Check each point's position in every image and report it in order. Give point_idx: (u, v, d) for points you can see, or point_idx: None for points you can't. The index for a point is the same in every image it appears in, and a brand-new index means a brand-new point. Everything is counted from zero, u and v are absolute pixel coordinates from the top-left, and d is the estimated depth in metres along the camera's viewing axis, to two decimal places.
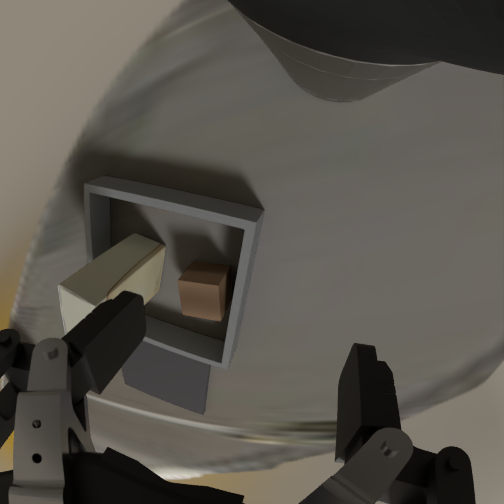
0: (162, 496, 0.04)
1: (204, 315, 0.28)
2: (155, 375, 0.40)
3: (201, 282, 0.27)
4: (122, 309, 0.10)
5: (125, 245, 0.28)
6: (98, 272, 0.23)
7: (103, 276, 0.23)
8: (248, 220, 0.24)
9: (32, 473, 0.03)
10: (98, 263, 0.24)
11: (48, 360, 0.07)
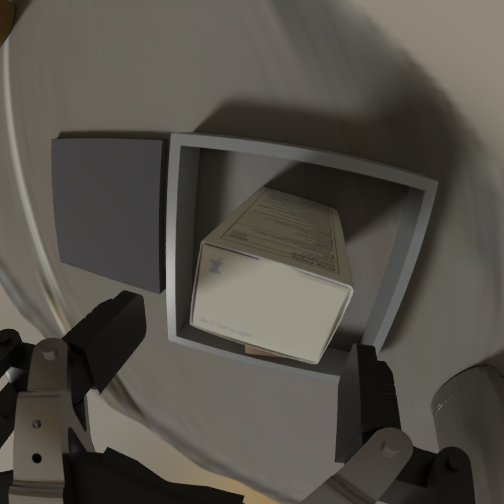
0: (162, 496, 0.04)
1: None
2: (91, 202, 0.26)
3: None
4: (122, 309, 0.10)
5: None
6: None
7: None
8: None
9: (32, 473, 0.03)
10: None
11: (48, 360, 0.07)
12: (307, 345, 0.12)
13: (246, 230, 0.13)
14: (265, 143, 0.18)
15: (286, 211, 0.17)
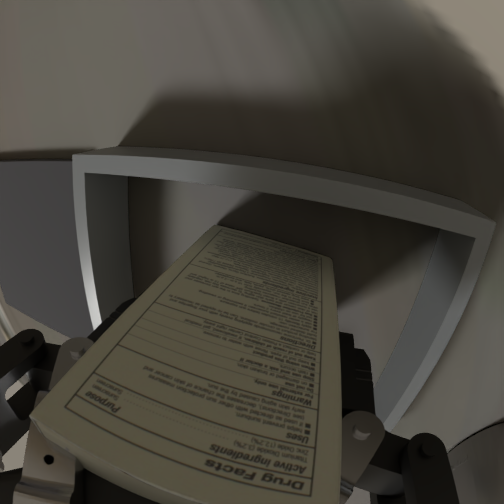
0: None
1: None
2: (20, 240, 0.18)
3: None
4: None
5: None
6: None
7: None
8: None
9: (42, 473, 0.03)
10: None
11: (76, 360, 0.07)
12: None
13: (128, 374, 0.06)
14: (203, 162, 0.10)
15: (239, 287, 0.10)
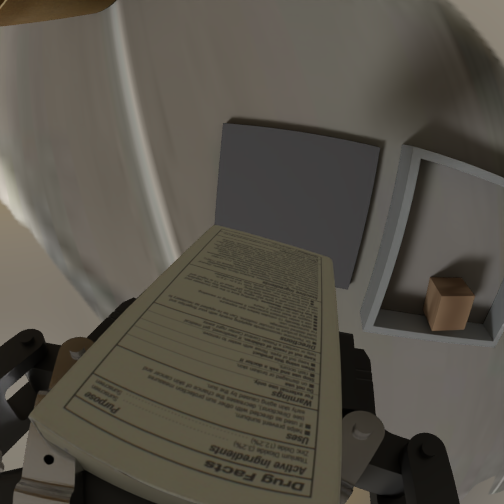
0: None
1: (439, 317, 0.25)
2: (283, 198, 0.27)
3: (468, 315, 0.24)
4: None
5: None
6: None
7: None
8: (496, 342, 0.24)
9: (42, 473, 0.03)
10: None
11: (76, 360, 0.07)
12: None
13: (128, 374, 0.06)
14: (477, 167, 0.19)
15: (238, 287, 0.10)
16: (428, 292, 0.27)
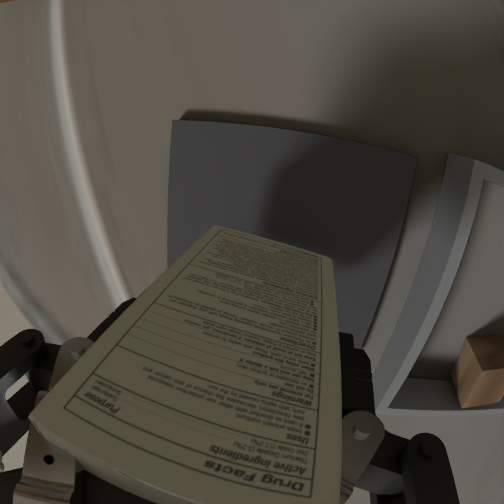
0: None
1: (474, 393, 0.15)
2: (264, 235, 0.18)
3: None
4: None
5: None
6: None
7: None
8: None
9: (42, 473, 0.03)
10: None
11: (76, 360, 0.07)
12: None
13: (128, 374, 0.06)
14: None
15: (238, 287, 0.10)
16: (461, 356, 0.18)
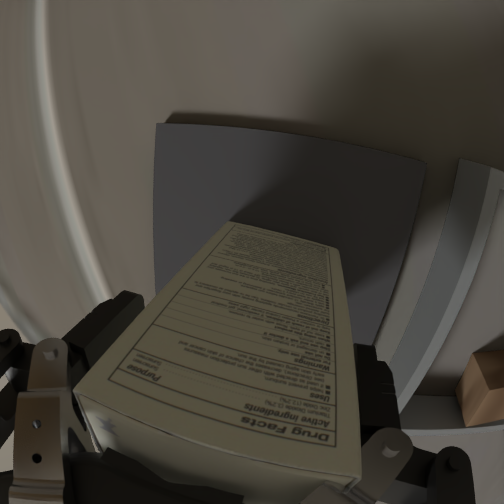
0: (162, 496, 0.04)
1: (479, 412, 0.14)
2: None
3: None
4: (122, 309, 0.10)
5: None
6: None
7: None
8: None
9: (32, 473, 0.03)
10: None
11: (48, 360, 0.07)
12: None
13: (165, 348, 0.07)
14: None
15: (256, 273, 0.11)
16: (467, 372, 0.17)
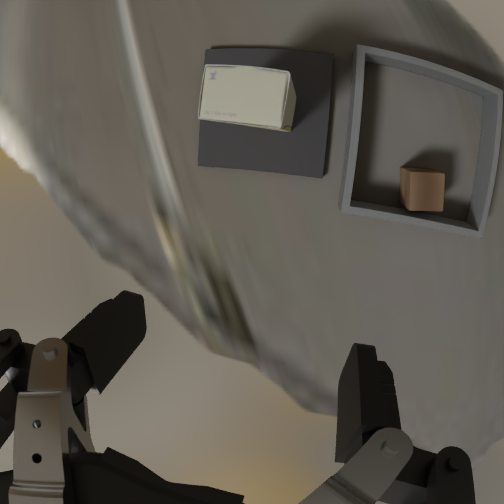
0: (162, 496, 0.04)
1: (413, 195, 0.27)
2: None
3: (443, 195, 0.26)
4: (122, 309, 0.10)
5: (294, 100, 0.26)
6: (290, 100, 0.21)
7: (288, 108, 0.21)
8: (482, 233, 0.27)
9: (32, 473, 0.03)
10: (292, 93, 0.22)
11: (48, 360, 0.07)
12: (271, 113, 0.19)
13: None
14: (418, 58, 0.22)
15: None
16: (401, 181, 0.30)
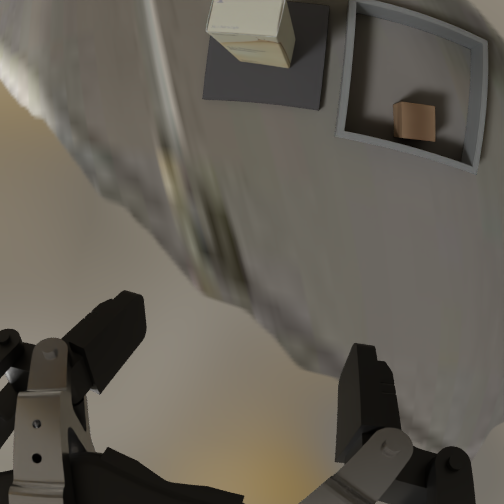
0: (162, 496, 0.04)
1: (405, 123, 0.27)
2: None
3: (434, 127, 0.26)
4: (122, 309, 0.10)
5: (292, 37, 0.26)
6: (287, 26, 0.21)
7: (285, 32, 0.21)
8: (477, 169, 0.26)
9: (32, 473, 0.03)
10: (289, 23, 0.22)
11: (48, 360, 0.07)
12: (268, 26, 0.18)
13: None
14: (405, 8, 0.21)
15: None
16: (394, 116, 0.29)
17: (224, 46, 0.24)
